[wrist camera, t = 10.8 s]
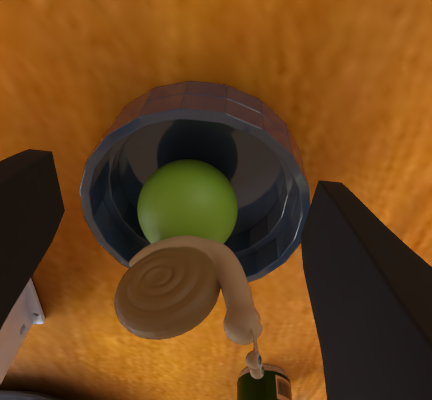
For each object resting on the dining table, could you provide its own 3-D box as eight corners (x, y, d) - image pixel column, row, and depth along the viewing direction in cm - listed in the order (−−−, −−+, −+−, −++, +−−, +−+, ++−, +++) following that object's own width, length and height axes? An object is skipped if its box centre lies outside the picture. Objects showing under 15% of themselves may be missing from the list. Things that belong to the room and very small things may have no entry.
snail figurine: (260, 206, 23) (275, 409, 13) (165, 220, 24) (115, 416, 14) (245, 129, 19) (250, 324, 10) (135, 150, 21) (46, 342, 11)
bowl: (278, 252, 26) (283, 298, 23) (112, 235, 26) (94, 279, 22) (324, 91, 18) (341, 125, 15) (92, 66, 18) (61, 95, 15)
